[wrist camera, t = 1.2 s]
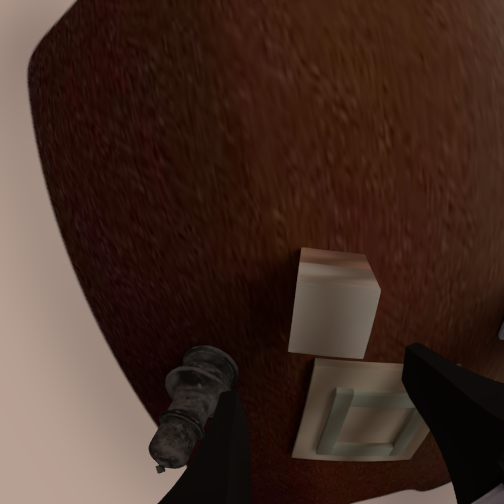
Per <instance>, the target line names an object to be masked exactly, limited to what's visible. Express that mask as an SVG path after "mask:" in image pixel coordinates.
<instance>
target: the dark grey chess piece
mask: <svg viewBox="0 0 504 504" xmlns="http://www.w3.org/2000/svg"><path fill="white" fill-rule="evenodd" d="M238 374H239V372H238V367H237V365H236V363H235V361H234V360H233V359H232V358H231V357H230V356H229V355H228V354H227V353H225V352H224V351H222V350H220V349H218V348H216V347H212V346H206V345H200V346H194V347H192V348H190V349H189V350H188V351H187V352H186V353H185V355H184V358H183V365H181V366H179V367H178V368H176V369H173V370H172V371H171V372H170V373H169V374H168V375H167V377H166V380H165V387H166V389H167V392H168V394H169V396H170V397H171V399H172V400H173V401H172V403H171V405H170V407H169V408H168V410H166V411H163V412H162V413H161V414H160V417H159V419H160V423H161V425H160V426H159V428H158V430H157V432H156V434H155V435H154V437H153V439H152V441H151V442H150V445H149V452H150V455H151V457H152V458H153V459H154V460H155V461H156V462H157V463H158V464H159V466H156V468H157V472H158V473H162V472H165V469H164V468H174V469H176V468H180V467H183V466H185V464H186V463H187V462H188V459H189V457H190V455H191V453H192V450H193V448H194V446H195V443H196V441H199V440H201V439H203V437H204V436H205V430H204V428H203V427H204V425H205V423H206V420H207V418H208V417H213V415H214V412H215V409H216V406H217V403H218V399H219V395H220V393H221V392H225V391H231V388H230V387H231V386H233V385H234V384H235V382H236V381H237V379H238Z"/></svg>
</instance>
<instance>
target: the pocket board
mask: <svg viewBox="0 0 504 504" xmlns="http://www.w3.org/2000/svg"><path fill="white" fill-rule="evenodd" d="M457 365H459V366H461V365H460V364H457ZM402 371H403V364H396V363H374V362H358V361H344V360H332V359H322V358H315V361H314V366H313V371H312V375H311V380H310V384H309V389H308V393H307V397H306V402H305V406H304V410H303V414H302V418H301V422H300V426H299V430H298V433H297V437H296V441H295V445H294V448H293V453H292V457H294V458H304V459H317V460H334V461H391V460H408V459H411V457H412V456H413V454H414V453H415V452H416V450H417V449H418V447H419V446H420V444H421V443H422V441H423V440H424V439H425V437H426V435H427V434H428V432H429V431H430V429H429V428H428V426H427V425H426V423H425V421H424V420H423V418H422V417H421V415H420V414H419V412H418V411H417V409H416V407H415V406H414V404H413V403H412V401H411V400H410V398H409V396H408V394H407V392H406V390H405V387H404V385H403V383H402V381H401V378H402Z"/></svg>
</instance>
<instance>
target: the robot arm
mask: <svg viewBox="0 0 504 504" xmlns="http://www.w3.org/2000/svg"><path fill="white" fill-rule="evenodd" d="M498 337H499V339H500V340H504V321H503V324H502V326H501V329H500V331H499V333H498ZM401 381H402V383H403V385H404V387H405V390H406V392H407V394H408V396H409V398H410V400H411V401H412V403H413V404H414V406H415V407H416V409H417V411H418V412H419V414H420V415H421V417H422V418H423V420H424V421H425V423H426V425H427V426H428V428H429V429H430V431H431V433H432V434H433V436H434V438H435V440H436V442H437V444H438V446H439V449H440V451H441V453H442V456H443V458H444V461H445V463H446V466H447V468H448V471H449V474H450V478H451V481H452V484H453V487H454V491H455V495H456V499H457V504H504V383H501V382H497V381H494V380H491V379H489V378H486V377H483V376H481V375H478V374H476V373H474V372H471V371H469V370H467V369H465V368H463V367H461V366H459V365H457V364H455V363H453V362H452V361H450V360H448V359H446V358H444V357H443V356H441V355H439V354H438V353H436V352H434V351H432V350H431V349H429V348H427V347H425V346H424V345H422V344H420V343H418V342H417V343H414V344H411V345H409V346H406V349H405V357H404V364H403V371H402V378H401ZM158 504H252V497H251V483H250V438H249V430H248V423H247V418H246V415H245V412H244V410H243V407H242V404H241V401H240V398H239V395H238V392H237V390H231V391H225V392H221V393H220V395H219V399H218V403H217V406H216V409H215V412H214V415H213V417H212V420H211V422H210V425H209V427H208V429H207V432H206V434H205V436H204V438H203V440H202V442H201V444H200V446H199V448H198V450H197V452H196V454H195V456H194V457H193V459H192V461H191V462H190V464H189V465H188V467H187V469H186V470H185V471H184V473H183V474H182V476H181V477H180V478H179V480H178V481H177V482H176V484H175V485H174V486H173V487H172V489H171V490H170V491H169V492H168V493H167V494H166V495H165V496H164V497H163V499H162V500H161V501H160V502H159V503H158Z"/></svg>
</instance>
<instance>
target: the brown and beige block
mask: <svg viewBox="0 0 504 504" xmlns="http://www.w3.org/2000/svg"><path fill="white" fill-rule="evenodd" d="M380 292H381V290H380V287H379V285H378V283H377V281H376V278H375V276H374V274H373V272H372V270H371V267H370V265H369V263H368V261H367V259H366V257H365V255H364V254H356V253H347V252H338V251H329V250H320V249H310V248H301V255H300V263H299V270H298V278H297V286H296V294H295V302H294V311H293V318H292V326H291V334H290V341H289V348H288V352H295V353H303V354H313V355H323V356H333V357H345V358H359V359H363V357H364V353H365V350H366V347H367V343H368V340H369V336H370V332H371V329H372V325H373V321H374V317H375V313H376V309H377V305H378V301H379V297H380Z"/></svg>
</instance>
